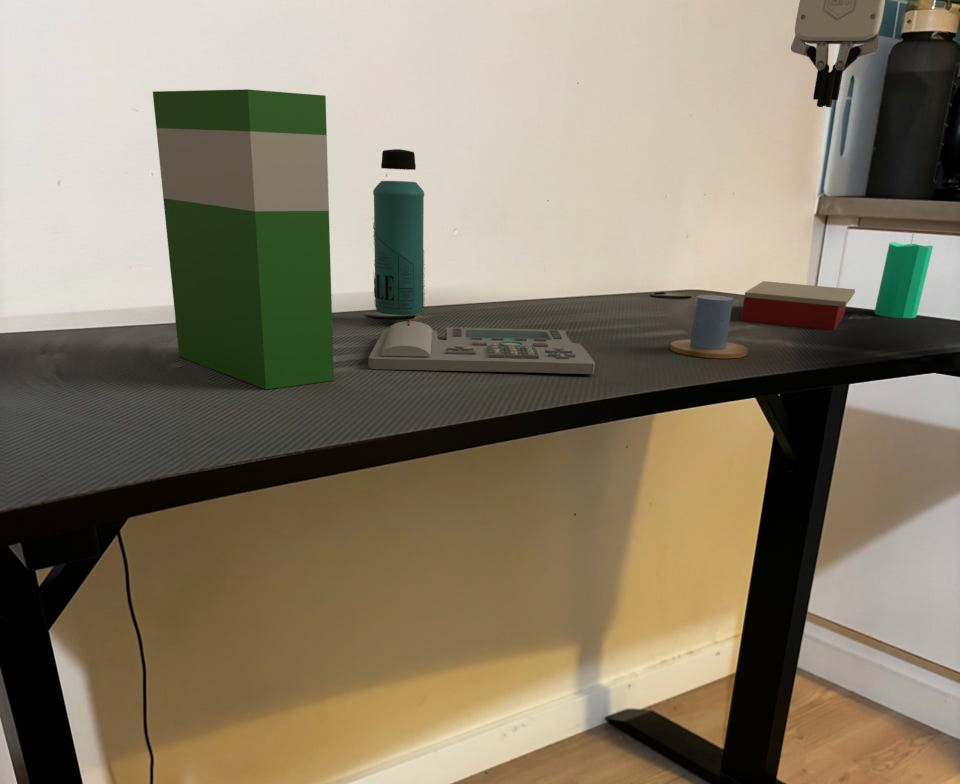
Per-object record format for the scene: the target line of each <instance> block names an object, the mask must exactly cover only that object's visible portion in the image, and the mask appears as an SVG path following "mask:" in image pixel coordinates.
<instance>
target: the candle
mask: <svg viewBox="0 0 960 784" xmlns="http://www.w3.org/2000/svg"><path fill="white" fill-rule="evenodd" d="M914 235H915V232H913V233H912V236H911V241H910V243H908V244H907V243H906V244H903V243H899V242H896V241H894V242H890V243H888V248H887V252H886V256H885V257H886V258H885V262H884V266H883V270H882V275H881V280H880V284H879V289H878V294H877V298H876V303H875V307H874V314H875V315H877V316H881V317H887V318H895V319H914V318H915V319H916V318H917V315H918V311H919V307H920V303H921V299H922V295H923V291H924V286H925V282H926V278H927V273H928V270H929V266H930V265H929V264H930V261H931V256H932V253H933V248H934V245H930V244H929V245H921V244H917V243H913V240H914Z"/></svg>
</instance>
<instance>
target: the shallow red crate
mask: <svg viewBox="0 0 960 784" xmlns="http://www.w3.org/2000/svg"><path fill="white" fill-rule="evenodd" d="M846 307H847V305H846V306H845V307H840V306H829V305H819V304H808V303H798V302H788V301H777V300H767V299H757V298H746V297H744V298H743V304H742V310H741V316H740V322H747V323H756V324H757V323H758V324H759V323H760V324H766V325H775V326H786V327H796V328H806V329H816V330H827V331H835V330H836V328H837V327H838V325H839V324H840V322H841V321H842V320H843V318H844V315H845V313H846Z"/></svg>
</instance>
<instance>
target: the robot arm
mask: <svg viewBox="0 0 960 784" xmlns="http://www.w3.org/2000/svg"><path fill="white" fill-rule="evenodd" d="M886 2H887V1H886V0H799V3H798V8H797V12H796V19H795V25H794V38H793V40H792V43H791V45H790V51H791V52H792V53H794V54H796V55H799V56H803V57H807V58H809V60H810V61H811V63H812V64H813V66H814V67H815V69H816V70H817V72H816V79H815V84H814V89H813V90H814V91H813V96H812V99H813V100H816V101H817V102H816V107H818V108H824V107H826V108H832V106H833V101H838V100H839V96H840V91H841V84H842V79H843V75H844V72H845V71H846V70H847V68H849V67H850V66H851V65H852V64H853V63H854V62H855V61H856V60H857V59H859V58H862V57H866V56H870V55H875V54H877V53H878V52H879V51H880V32H881V30H882V29H881V28H882V24H883V19H884V13H885V7H886ZM814 45H815V46H814ZM829 45H840V47H839V51H838V54H837V57H836V60H835V63H834V64H833V65H832V68H831V71H830V65H829ZM854 45H855V46H854Z"/></svg>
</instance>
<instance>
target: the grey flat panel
mask: <svg viewBox="0 0 960 784" xmlns="http://www.w3.org/2000/svg"><path fill="white" fill-rule="evenodd" d="M855 293H856V289H855V288H845V287H844V288H843V287H834V286H833V287H831V286H823V285H811V284H799V283H790V282H789V283H788V282H780V281H779V282H777V281H767V280H763V281H761V282H759V283H758V284H756V285H754V286H753V287H751V288H750V289H748V290H746V291H745V292H744V298H745V297H746V298H757V299H767V300H777V301H788V302H798V303H808V304H819V305H829V306H840V307H845V306H846V307H847V305H848V303H849V302H850V301H851V299H852V298H853V297H854V295H855Z"/></svg>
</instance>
